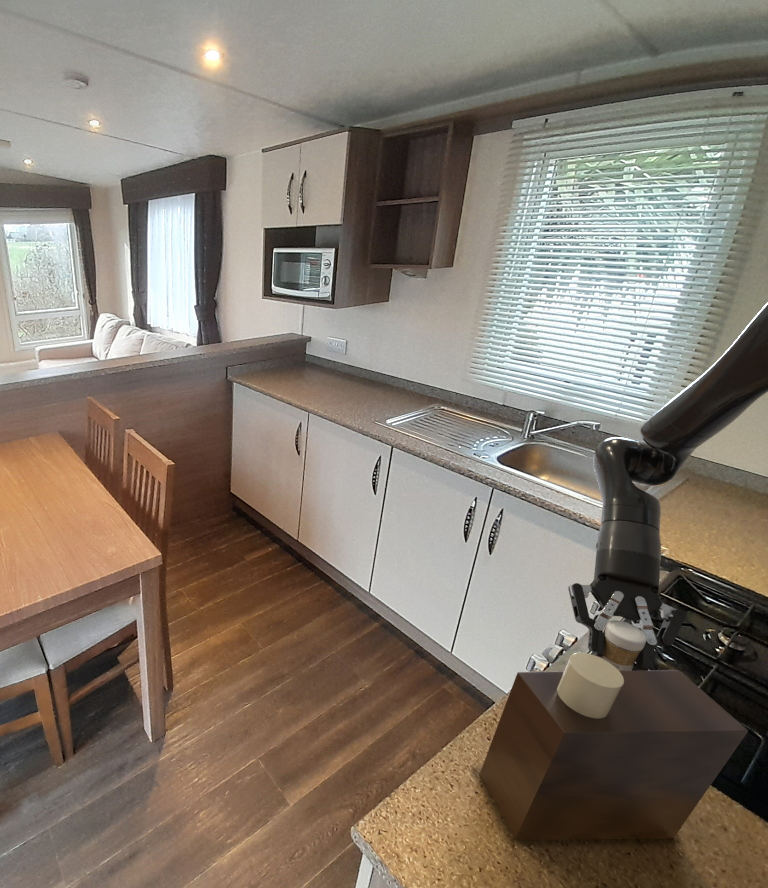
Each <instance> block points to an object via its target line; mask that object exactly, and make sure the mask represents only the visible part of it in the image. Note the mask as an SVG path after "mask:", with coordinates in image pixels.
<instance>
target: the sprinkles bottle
mask: <svg viewBox="0 0 768 888" xmlns="http://www.w3.org/2000/svg"><path fill="white" fill-rule="evenodd" d="M603 632H604V633H605V639H604V651H603V657H600V658H602V659H604V660H606V661H607V662H609V663H610V664H612V665H613V666H614V667H616V668H617V669H618V670H619V671H633V668H634V666H635V665H636V658H637V656H638V654H639V652H640V651H641V650H642V649H643V648H644V645H645V643H646V641H647V638H646V635H645V634H644V633H643V632H642V631H641V630H640V629H639V628H637V627H635V626H634V625H632V623H629V622H626V621H623V620H609V621H608V622H607V624H606V626H605V628H604V629H603Z"/></svg>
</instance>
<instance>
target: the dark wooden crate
mask: <svg viewBox="0 0 768 888" xmlns="http://www.w3.org/2000/svg"><path fill="white" fill-rule="evenodd" d="M563 672H564V671H518V672H517V673H516V676H515V677H514V681H513V683H512V686H511V689H510V692H509V694H508V697H507V699H506V702H505V705H504V708H503V710H502V713H501V716H500V718H499V720H498V724H497V726H496V729H495V730H494V731H495V732H494V734H493V737H492V740H491V742H490V744H489V748H488V750H487V753H486V756H485V759H484V761H483V764H482V766H481V769H480V771H479V774H478V775H479V777H480V779H481V781H482V783H483V785H484V786H485V788H486V790H487V791H488V793H489V795H490V797H491V798H492V801H493V802H494V804H495V806H496V808H497V809H498V811H499V813H500V815H501V817H502V819H503V820H504V822H505V824H506V826H507V827H508V830H509V831H510V833H511V835H512V836H513V839H514V840H516V841H517V840H521V841H523V840H524V841H525V840H528V841H529V840H629V839H630V840H632V839H637V840H638V839H639V840H640V839H641V840H642V839H674V838H675V837H676V836H677V834H678V832H679V831H680V830H681V828H682V827H683V825H684V824H685V823H686V821H687V819H688V818H689V817H690V816H691V814H692V812H693V811H694V810H695V808H696V807H697V805H698V804H699V802H700V801H701V799H702V798H703V797H704V795H705V794H706V793H707V791H708V790H709V788H710V787H711V785H712V784H713V783H714V781H715V779H716V778H717V777H718V776H719V774H720V773H721V771H722V770H723V768H724V767H725V765H726V764H727V763H728V761H729V760H730V759H731V757H732V755H733V754H734V753H735V751H736V750H737V748H738V747H739V745H740V744H741V742H742V741H743V740H744V738H745V737H746V736H747V734H748V732H749V730H748V729H747V728H746V727H745V726H743V724H742V723H740V722H739V721H737V719H736V718H734V717H733V716H732V715H731V714H730V713H729V712H728V711H726V709H724V708H723V707H722V706H721V705H720V704H718V703H717V702H716V701H715V700H714V699H713V698H712V697H710V695H708V694H707V693H706V692H705V691H704V690H703V689H701V688H700V687H699V686H698V685H696V684H695V682H693V681H692V680H691V679H689V678H688V677H687V676H686V675H685V674H684V673H683V672H682V671H681V670H679V669H662V670H661V669H657V670H653V669H652V670H650V669H648V670H644V671H642V670H631V671H620V673H621V674H622V676H623V678H624V684H623V686H622V688H621V690H620V692H619V694H618V696H617V698H616V700H615V702H614V704H613V706H612V708H611V710H610V712H609V714H608V715H607V716H606V717H604V718H600V719H596V718H590V717H587V716H584V715H582V714H580V713H578V712H576V711H574V710H573V709H571V708H570V707H568V706H567V705H566V704H565V703H564V702H563V701H562V700H561V698H560V697H559V695H558V693H557V686H558V684H559V682H560V679H561V677H562V675H563Z"/></svg>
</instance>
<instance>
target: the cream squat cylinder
mask: <svg viewBox="0 0 768 888" xmlns="http://www.w3.org/2000/svg"><path fill="white" fill-rule="evenodd" d="M562 672H563V675H562V677H561V679H560V682H559V684H558V686H557V693H558V695H559V697H560V698H561V700H562V701H563V702H564V703H565V704H566V705H567V706H568V707H570V708H571V709H573V710H574V711H576V712H578V713H580V714H582V715H584V716H587V717H590V718H596V719H600V718H604V717H606V716H607V715H608V714H609V712H610V710H611V708H612V706H613V704H614V702H615V700H616V698H617V696H618V694H619V692H620V690H621V688H622V686H623V684H624V678H623V676H622V674H621V673H620V671H619V670H618V669H617V668H616V667H614V666H613V665H612V664H610V663H609V662H607V661H606V660H604V659H602V658H600V657H598V656H595V655H592V654H591V653H587V652H575V653H573V654H571V655H570V656H569V659H568V661H567V663H566V665H565V667H564V670H563V671H562Z"/></svg>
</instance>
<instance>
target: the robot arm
mask: <svg viewBox="0 0 768 888" xmlns="http://www.w3.org/2000/svg"><path fill="white" fill-rule="evenodd" d="M767 393H768V302H767V303H766V304H765V305H764V306H763V307H762V308H761V310H760V311H759V312H758V313H757V314H756V315H755V316H754V317H753V319H752V320H751V321H750V322H749V323H748V325H747V326H746V327H745V329H744V330H743V331H742V332H741V334H740V335H739V336H738V337H737V339H735V341H734V342H733V343H732V345H730V347H729V348H728V349H727V350H726V351H725V352H724V353H723V355H721V356H720V357H719V358H718V359H717V361H715V363H714V364H712V365H711V366H710V367H709V368H708V369H707V370H706V371H705V372H704V373H703V374H702V375H700V376H699V377H698V378H697V379H695V380H694V381H693V382H692V383H690V384H689V385H688V386H687V387H686V388H683V390H681V391H680V392H679V393H677V394H676V395H675V396H673V398H672V399H670V400H669V401H668V402H667V403H665V404H664V405H663V406H661V407H660V408H659V410H657V411H656V412H654V414H653V415H651V416H650V417H649V418H648V419H646V420H645V422H644V423H643V424H642V425H641V427H640V431H639V432H640V437H641V439H642V440H643V441H641V440H640V441H639V440H635V439H631V438H626V437H619V436H614V437H609V438H606V439H604V440H603V441H602V442H600V443H599V444H598V445H597V447H596V449H595V451H594V453H593V458H592V465H593V471H594V474H595V478H596V481H597V485H598V489H599V493H600V496H601V500H602V508H601V520H600V528H599V531H598V533H597V534H598V535H597V540H596V543H595V550H596V551H595V552H596V553H595V554H596V555H595V564H594V575H593V580H592V582H591V583H590V584H580V583H578V582H574V583H573V584H570V585H569V586H568V587H567V588H568V593H569V599H570V603H571V606H572V610H573V611H572V612H573V616H574V620H575V622H577V623H578V624H581V625H583V626H584V627H586V628H587V629H588V633H589V634H588V643H587V648H588V651H589V652H591V653H592V655H595V656H598V657H603V651H604V639H605V633H604V630H605V627H606V625H607V623H608V622H610V620H611V619H612V618H613V617H621V618H622V619H625V620H627V621H631V624H632V625H634V626H635V627H637V628H639V629H640V630H641V631H642V632H643V633H644V634H645V635H646V638H647V641H646V643H645V645H644V648H643V649H642V650H641V651H640V652H639V654H638V656H637V658H636V660H635V669H636V670H638V671H644V670H649V669H653V667H654V666H655V653H656V647H658V646H660V647H665V646H673V645H674V643H675V641H676V638H677V636H678V634H679V632H680V630H681V628H682V625H683V623H684V621H685V619H686V616H687V612H686V610H685V609H682V608H675V607H672V606H670V605H668V604H666V603H664V602H663V600H662V598H661V596H660V594H659V592H660V591H659V590H660V578H661V576H660V575H661V559H662V558H661V557H662V540H661V533H660V531H661V513H662V505H661V502H660V500H659V499H658V498H657V497H656V496H654V495H652V494H651V493H650V492H649V493H648V492H647V491H646V490H645V491H644V490H642V489H641V488H639V487H637V486H636V485H635V484H637V485H641V486H645V487H657V486H662V485H665V484H667V483H670V482H671V481H672V480H673V479H675V477H676V476H677V475H678V473H679V472H680V470H681V469H682V468H683V466H684V464H685V463H686V461H688V459H689V458H690V457H691V455H692V454H693V453H694V451H695V450H696V449H697V448H698V447H700V446H701V445H703V444H704V443H706V442H708V441H709V440H710V439H711V438H713V437H715V436H716V435H717V434H719V433H720V432H722V431H723V430H724V429H726V428H727V427H728V426H729V425H731V424H732V423H733V422H734V421H735V420H737V419H738V418H739V417H740V416H741V415H742V414H743V413H744V412H745V411H746V410H747V409H748V408H750V407H751V406H752V405H753V404H754V403H755V402H756V401H758V400H759V399H760V398H762V397H763V396H764V395H765V394H767ZM590 593H591V595H592V596H593V598H594V599H595V601H596V602H597V603H598V607H597V609H596V611H595V612H594V614H593V617H590V613H589V609H588V605H587V601H586V599H587V598H589V595H590ZM656 611H660V617H661V619H662V620H663V621H662V624H661V626H660V629H659V630H658V632H657V634H655V631H654V624H653V621H652V618H651V615H652V614H654V613H655V612H656Z"/></svg>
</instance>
